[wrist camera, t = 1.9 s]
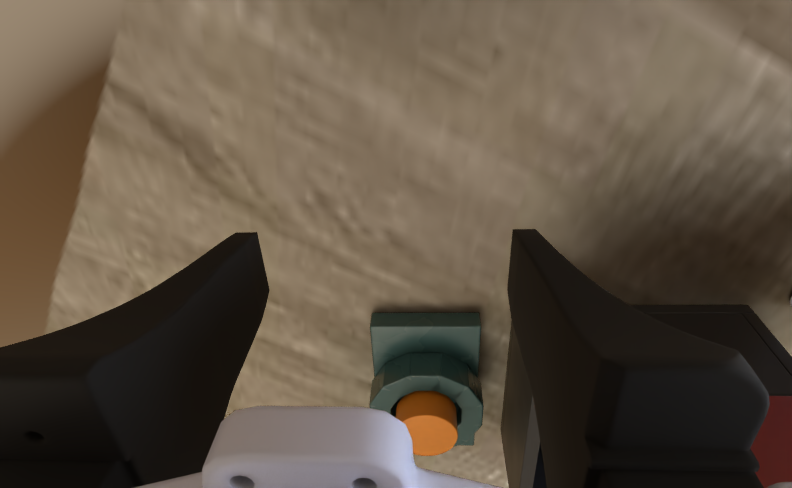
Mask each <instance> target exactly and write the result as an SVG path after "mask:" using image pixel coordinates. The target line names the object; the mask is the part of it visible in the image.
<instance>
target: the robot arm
mask: <svg viewBox="0 0 792 488" xmlns="http://www.w3.org/2000/svg"><path fill="white" fill-rule="evenodd" d="M268 294H269V286H268V281H267V277H266V272H265V267H264V263H263V258H262V253H261V248H260V244H259V239H258V234H257V232H254V233H235V234H233V235H231V236H230V237H228V238H227V239H225V240H224V241H222V242H221V243H220V244H218V245H217V246H215V247H214V248H213V249H211V250H210V251H208V252H207V253H206V254H204V255H203V256H201V257H200V258H199V259H197V260H196V261H194V262H193V263H191V264H190V265H189V266H187V267H186V268H184V269H183V270H181V271H180V272H178V273H176V274H175V275H173V276H172V277H170V278H169V279H167V280H166V281H164V282H162V283H161V284H159V285H158V286H156V287H154V288H153V289H151V290H149V291H147V292H145V293H144V294H142V295H140V296H138V297H136V298H134V299H132V300H130V301H128V302H126V303H124V304H122V305H120V306H118V307H116V308H113V309H111V310H109V311H107V312H104V313H102V314H100V315H98V316H95V317H93V318H91V319H88V320H86V321H83V322H80V323H78V324H75V325H73V326H70V327H67V328H64V329H61V330H58V331H55V332H52V333H49V334H46V335H43V336H40V337H36V338H33V339H29V340H26V341H22V342H19V343H15V344H12V345H8V346H5V347H1V348H0V488H502V487H498V486H494V485H489V484H485V483H481V482H477V481H473V480H469V479H464V478H460V477H456V476H452V475H448V474H444V473H440V472H435V471H431V470H427V469H423V468H419V467H417V466H416V465H415V463H414V458H413V442H412V438H411V436H410V433H409V431H408V429H407V427H406V424H404V423H403V422H401V421H400V420H398V419H397V418H395V417H394V416H392V415H391V414H389V413H387V412H386V411H382V410H377V409H372V408H366V407H327V406H255V407H250V408H245V409H239V410H235V411H233V412H232V413H231V414H230V415H229V416H227V417H226V418H225V419H224V417H225V413H226V410H227V407H228V403H229V400H230V396H231V393H232V391H233V388H234V385H235V383H236V380H237V378H238V375H239V373H240V371H241V368H242V366H243V364H244V361H245V359H246V357H247V354H248V352H249V350H250V347H251V345H252V343H253V340H254V338H255V335H256V333H257V331H258V328H259V326H260V323H261V321H262V318H263V314H264V310H265V307H266V303H267V298H268ZM508 297H509V305H510V311H511V318H512V322H513V326H514V330H515V333H516V337H517V340H518V344H519V347H520V351H521V354H522V358H523V361H524V365H525V368H526V372H527V375H528V379H529V382H530V386H531V390H532V395H533V400H534V406H535V412H536V418H537V424H538V430H539V436H540V443H541V450H542V456H543V463H544V470H545V478H546V485H547V488H764V487H763V485H762V484H761V482H760V480H759V478H758V477H757V475H756V473H755V472H758V470H759V468H760V466H759V462H758V460H757V459H756V457H755V455H754V454H753V452H752V450H751V449H750V448H751V446H752V444H753V442H754V440H755V438H756V436H757V434H758V432H759V430H760V428H761V426H762V424H763V422H764V420H765V418H766V415H767V412H768V409H769V405H770V402H769V394H768V391H767V390H766V388H765V387H764V385H763V384H762V382H761V381H760V379H759V378H758V376H757V375H756V374H755V372H754V371H753V369H752V368H751V366H750V365H749V364H748V363H747V361H746V360H745V359H744V357H743V356H742V355H741V354H740V353H739V352H738V350H735V349H732V348H729V347H726V346H723V345H720V344H717V343H714V342H711V341H708V340H705V339H702V338H699V337H696V336H693V335H691V334H689V333H686V332H684V331H681V330H679V329H676V328H674V327H672V326H669V325H667V324H665V323H663V322H661V321H659V320H656V319H654V318H652V317H651V316H649V315H647V314H645V313H643V312H641V311H639V310H637V309H635V308H633V307H632V306H630V305H628V304H626V303H625V302H623V301H622V300H620V299H618V298H617V297H615V296H614V295H612V294H611V293H609V292H608V291H606V290H605V289H603V288H602V287H600V286H599V285H598V284H596V283H595V282H594V281H592V280H591V279H590V278H588V277H587V276H586V275H585V274H583V273H582V272H581V271H580V270H578V269H577V268H576V267H575V266H574V265H573V264H571V263H570V262H569V261H568V260H567V259H566V258H565V257H564V256H563V255H561V254H560V253H559V252H558V251H557V250H556V249H555V248H554V247H553V246H552V245H551V244H550V243H549V242H548V241H547V240H546V239H545V238H544V237H543V236H542V235H541V234H540V233H539V232H538V231H537V230H536V229H513V233H512V244H511V256H510V267H509V278H508ZM790 305H791V306H792V297H791V299H790ZM767 488H792V482H781V483H775V484H773V485H771V486H768V487H767Z"/></svg>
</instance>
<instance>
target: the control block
mask: <svg viewBox="0 0 792 488" xmlns="http://www.w3.org/2000/svg"><path fill="white" fill-rule="evenodd" d="M370 332H371V343H372V355H373V366H374V377H375V378H374V379H373V381H372V387H371V396H370V408H372V409H377V410H382V411H386V412H387V413H389V414H391V415H392V416H394V417H395V418H396V407H397V404H398V403H399V401H400V400H401V399H402V398H403V397H404V396H406V395H407V394H410V393H413V392H415V391H436V392H439V393H441V394H444V395H446V396H447V397H449V398H450V399H451V400H452V401H453V403H454V404H455V406H456V413H457V429H458V439H457V442H456V443H455V445H454V446H457V445H474V436H475V432H476V431H477V430H478V429H479V428H480V427H481V426H482V418H483V399H482V390H481V383H480V381H479V379H478V370H479V353H480V337H481V322H480V315H479V313H372V316H371V323H370ZM454 446H453V447H454Z"/></svg>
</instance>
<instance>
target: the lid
mask: <svg viewBox="0 0 792 488" xmlns="http://www.w3.org/2000/svg"><path fill="white" fill-rule="evenodd" d="M769 402H770V405H769V409H768V412H767V415H766V418H765V420H764V422H763V424H762V426H761V428H760V430H759V432H758V434H757V436H756V438H755V440H754V442H753V444H752V446H751V448H750V449H751V450H752V452H753V454H754V455H755V457H756V459H757V460H758V462H759V466H760V468H759V470H758V472H755V473H756V475H757V477H758V478H759V480H760V482H761V484H762V485H763V487H764V488H767V487H768V486H771V485H773V484H775V483H781V482H792V396H769Z"/></svg>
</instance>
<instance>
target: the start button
mask: <svg viewBox="0 0 792 488" xmlns="http://www.w3.org/2000/svg"><path fill="white" fill-rule="evenodd" d="M396 418H397V419H398V420H400V421H401V422H403V423H404V424H406V427H407V429H408V431H409V433H410V436H411V438H412V442H413V454H416V455H421V456H433V455H439V454H442V453H444V452H446V451H448V450H450V449H451V448H452V447H453V446H454V445H455V443H456V442H457V439H458V429H457V413H456V406H455V404H454V403H453V401H452V400H451V399H450V398H449V397H447V396H446V395H444V394H441V393H439V392H436V391H415V392H413V393H410V394H407V395H406V396H404V397H403V398H402V399H401V400H400V401H399V403H398V404H397V407H396Z"/></svg>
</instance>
